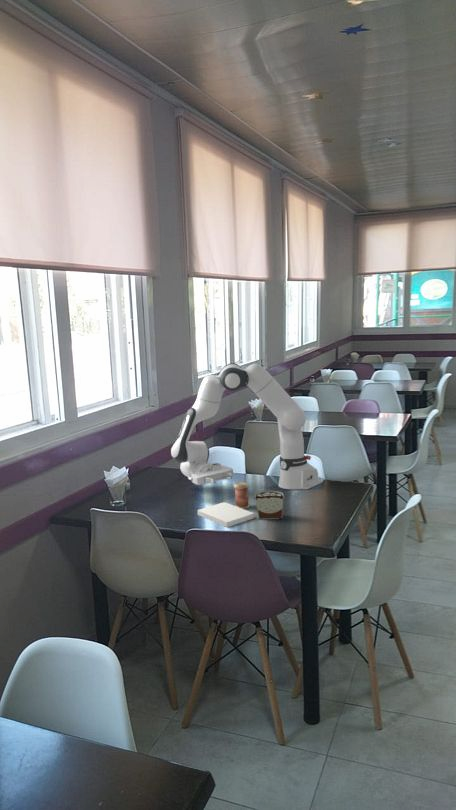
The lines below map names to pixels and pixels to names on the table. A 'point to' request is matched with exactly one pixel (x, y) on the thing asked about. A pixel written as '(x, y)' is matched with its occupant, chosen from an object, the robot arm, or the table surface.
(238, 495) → the cord spool
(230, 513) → the shelf board
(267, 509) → the food container
